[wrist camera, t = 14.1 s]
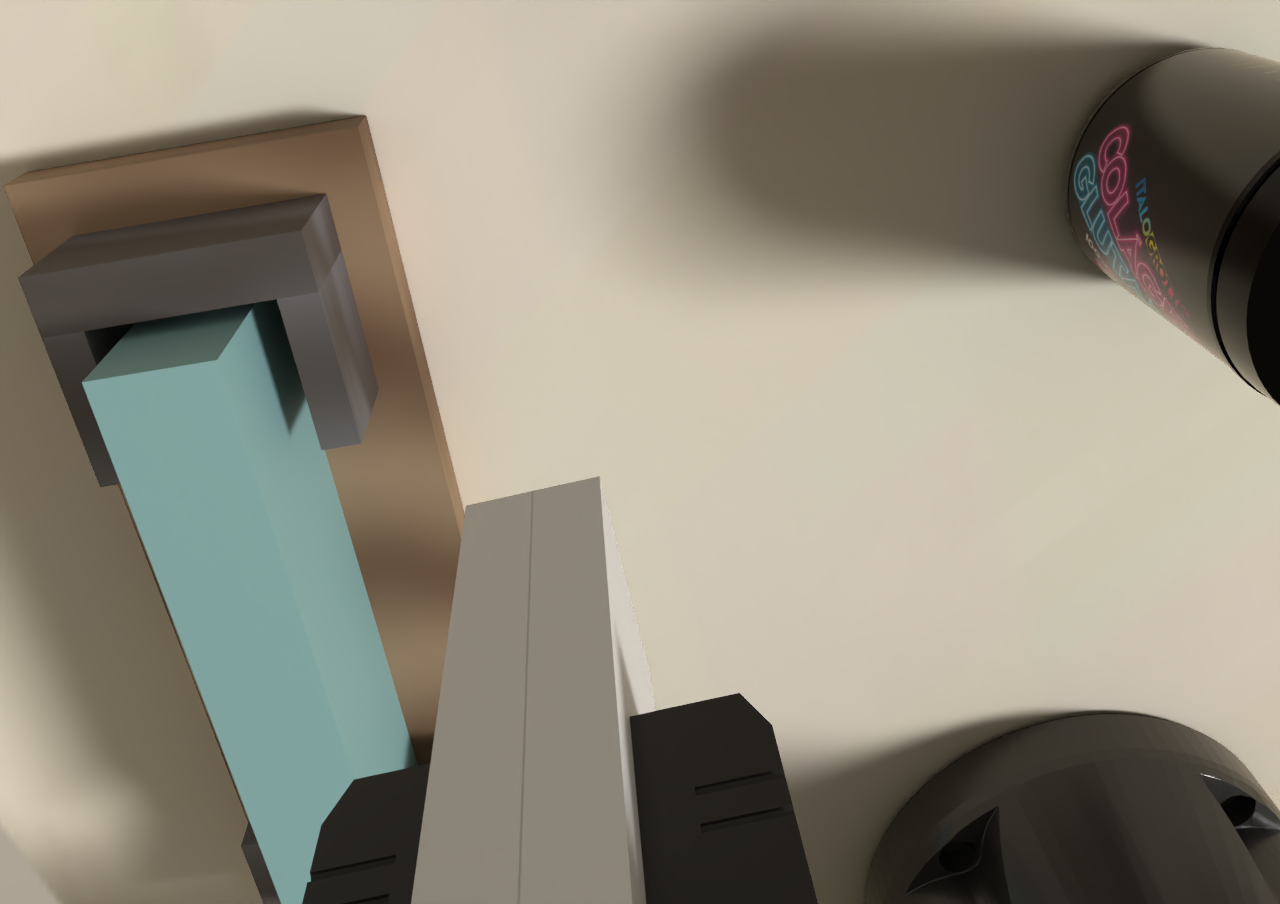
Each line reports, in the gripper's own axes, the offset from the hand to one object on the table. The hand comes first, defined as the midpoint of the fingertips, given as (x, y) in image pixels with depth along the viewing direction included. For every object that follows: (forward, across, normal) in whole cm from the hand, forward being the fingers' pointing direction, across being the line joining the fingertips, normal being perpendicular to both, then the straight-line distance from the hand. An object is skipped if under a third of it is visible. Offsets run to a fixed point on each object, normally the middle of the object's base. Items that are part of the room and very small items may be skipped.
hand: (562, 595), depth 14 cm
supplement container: (+21, -17, +4) cm, 27 cm away
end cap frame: (+21, +10, +10) cm, 25 cm away
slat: (+20, +10, +9) cm, 24 cm away
